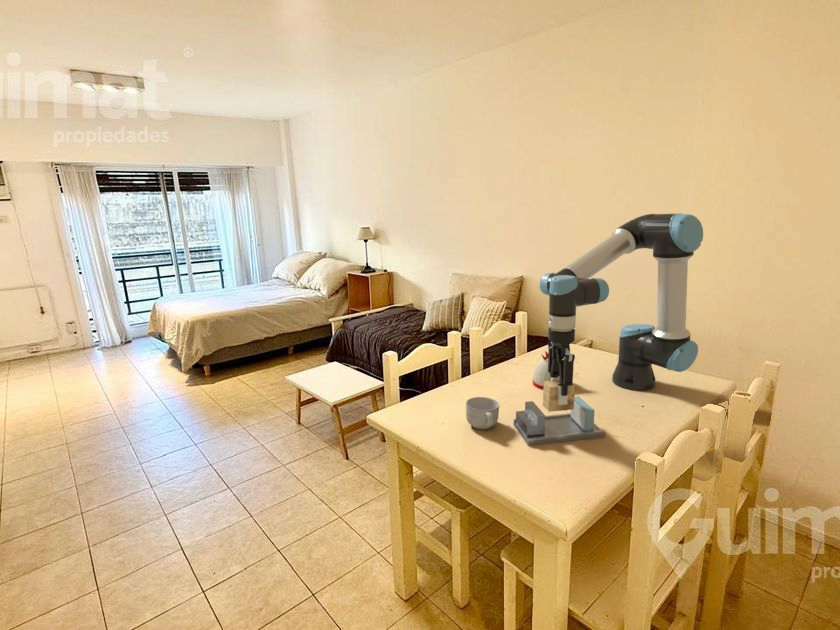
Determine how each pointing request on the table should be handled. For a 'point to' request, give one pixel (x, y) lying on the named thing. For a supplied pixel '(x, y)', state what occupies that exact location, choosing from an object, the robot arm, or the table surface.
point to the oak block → (552, 396)
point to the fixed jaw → (531, 420)
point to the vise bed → (561, 431)
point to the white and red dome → (541, 373)
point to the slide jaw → (583, 414)
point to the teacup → (482, 412)
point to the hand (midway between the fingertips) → (558, 400)
